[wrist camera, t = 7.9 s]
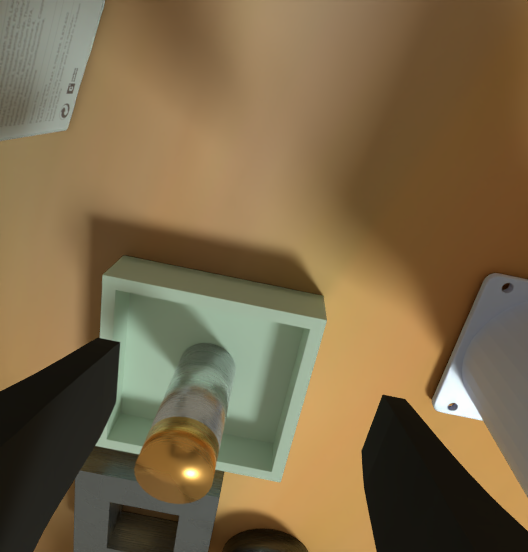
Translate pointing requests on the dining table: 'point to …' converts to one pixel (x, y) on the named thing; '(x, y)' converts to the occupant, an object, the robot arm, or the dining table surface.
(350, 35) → the dining table surface
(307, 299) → the tray
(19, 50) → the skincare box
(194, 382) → the pin
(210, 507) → the block
